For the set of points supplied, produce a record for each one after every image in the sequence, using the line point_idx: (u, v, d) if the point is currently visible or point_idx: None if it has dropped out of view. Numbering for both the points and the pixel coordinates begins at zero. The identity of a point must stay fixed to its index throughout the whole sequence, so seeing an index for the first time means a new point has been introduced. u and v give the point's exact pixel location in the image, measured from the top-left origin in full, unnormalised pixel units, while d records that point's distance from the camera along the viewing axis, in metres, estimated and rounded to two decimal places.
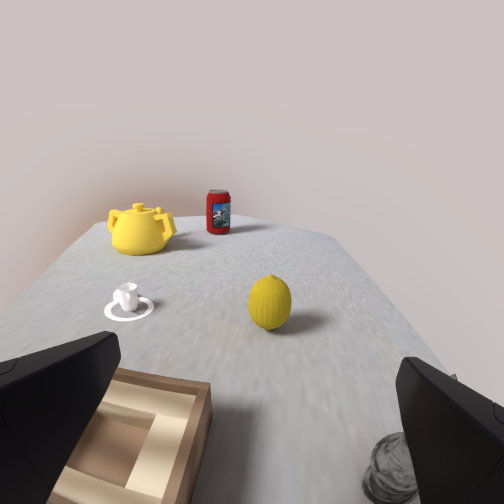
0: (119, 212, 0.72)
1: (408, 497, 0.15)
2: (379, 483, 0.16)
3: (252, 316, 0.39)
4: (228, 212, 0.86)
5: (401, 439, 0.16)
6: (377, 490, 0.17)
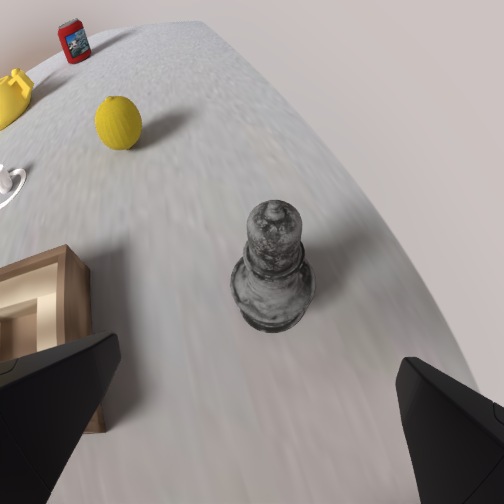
0: None
1: (292, 319, 0.23)
2: None
3: (105, 143, 0.32)
4: (83, 37, 0.53)
5: None
6: None
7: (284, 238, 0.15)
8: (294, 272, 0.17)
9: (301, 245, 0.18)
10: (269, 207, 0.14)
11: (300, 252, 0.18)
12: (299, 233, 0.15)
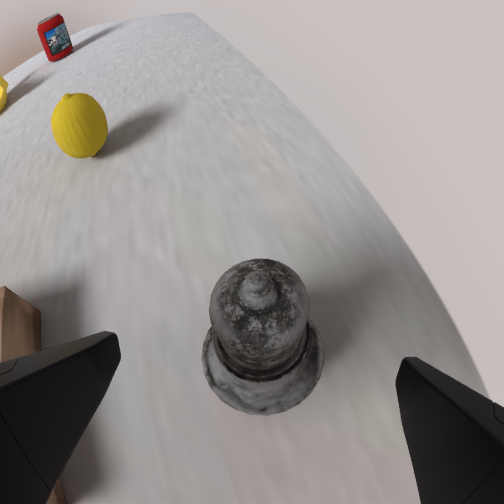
0: None
1: None
2: None
3: (64, 151, 0.25)
4: (64, 32, 0.46)
5: None
6: None
7: (275, 341, 0.08)
8: (293, 368, 0.10)
9: None
10: (246, 287, 0.07)
11: (303, 333, 0.11)
12: (304, 325, 0.08)
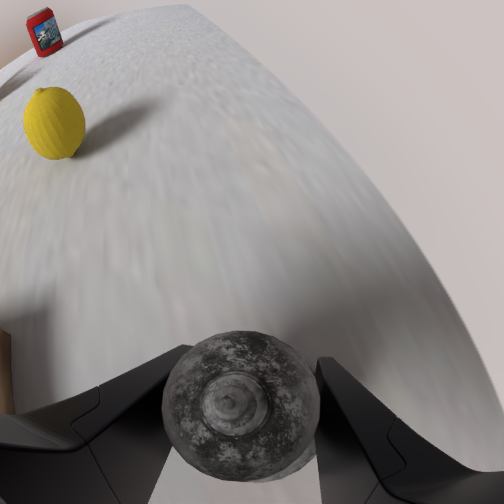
0: None
1: None
2: None
3: (37, 152, 0.21)
4: (54, 27, 0.42)
5: None
6: None
7: (264, 472, 0.04)
8: None
9: None
10: (210, 409, 0.04)
11: None
12: (310, 440, 0.04)
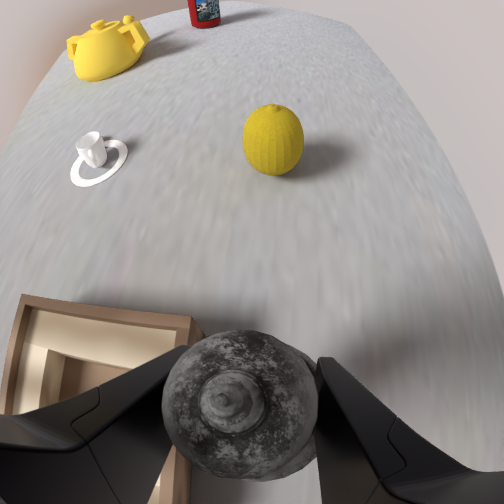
0: (78, 37, 0.42)
1: None
2: None
3: (249, 161, 0.27)
4: (216, 2, 0.50)
5: None
6: None
7: (261, 469, 0.04)
8: None
9: None
10: (207, 406, 0.04)
11: None
12: (308, 438, 0.04)
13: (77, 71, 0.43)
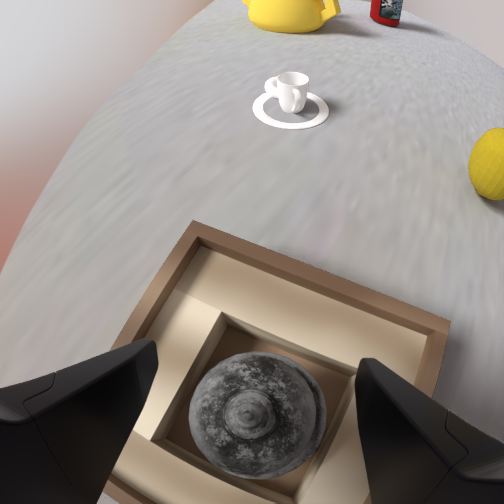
0: None
1: None
2: None
3: (475, 175, 0.21)
4: (400, 4, 0.42)
5: None
6: None
7: (271, 467, 0.05)
8: None
9: None
10: (233, 419, 0.05)
11: None
12: (307, 442, 0.06)
13: (253, 14, 0.41)
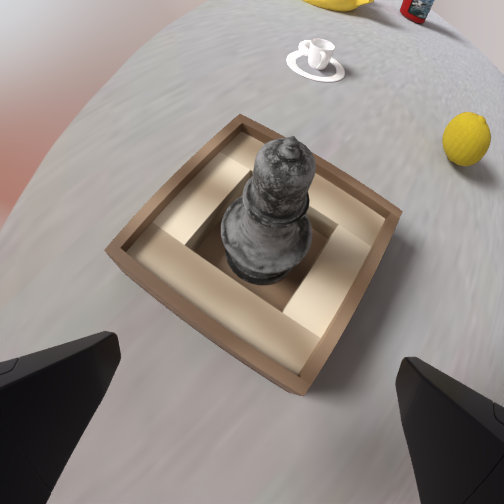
0: None
1: (278, 274, 0.22)
2: None
3: (446, 142, 0.28)
4: (429, 7, 0.44)
5: None
6: None
7: (294, 180, 0.13)
8: (294, 222, 0.16)
9: (307, 195, 0.16)
10: (285, 143, 0.12)
11: (305, 202, 0.16)
12: (311, 179, 0.13)
13: None
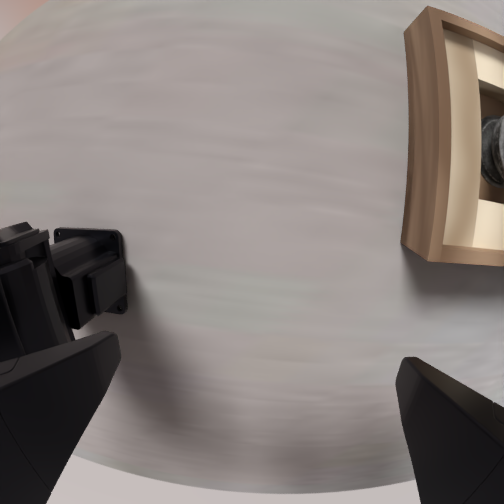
0: None
1: (492, 178, 0.16)
2: (495, 128, 0.13)
3: None
4: None
5: None
6: (486, 136, 0.15)
7: None
8: None
9: None
10: None
11: None
12: None
13: None
